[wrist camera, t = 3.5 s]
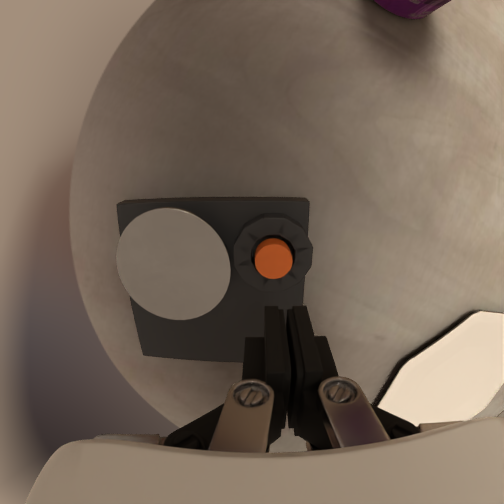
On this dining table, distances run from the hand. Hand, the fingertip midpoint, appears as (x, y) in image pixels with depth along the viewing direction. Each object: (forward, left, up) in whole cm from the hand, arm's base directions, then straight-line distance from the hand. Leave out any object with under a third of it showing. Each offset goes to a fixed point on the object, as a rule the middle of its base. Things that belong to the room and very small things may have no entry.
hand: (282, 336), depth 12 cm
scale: (-5, -3, -12) cm, 13 cm away
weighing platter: (-7, -1, -9) cm, 11 cm away
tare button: (0, 0, -9) cm, 9 cm away
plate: (+24, -19, -12) cm, 33 cm away
